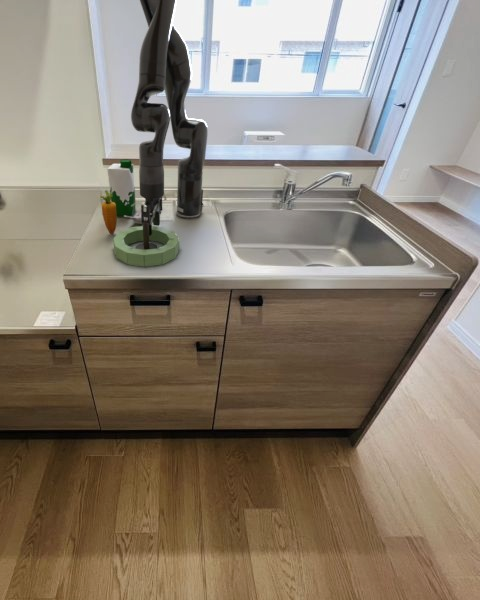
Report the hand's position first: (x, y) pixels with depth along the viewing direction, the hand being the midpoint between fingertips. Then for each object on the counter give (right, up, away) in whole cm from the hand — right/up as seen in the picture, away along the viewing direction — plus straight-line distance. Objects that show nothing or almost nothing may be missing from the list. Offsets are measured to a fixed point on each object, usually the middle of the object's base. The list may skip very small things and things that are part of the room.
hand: (152, 229), depth 105 cm
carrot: (-14, -1, +4) cm, 15 cm away
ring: (-2, -8, -4) cm, 9 cm away
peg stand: (-2, -8, -4) cm, 9 cm away
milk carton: (-13, +11, +20) cm, 26 cm away
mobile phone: (-4, +7, +15) cm, 17 cm away
